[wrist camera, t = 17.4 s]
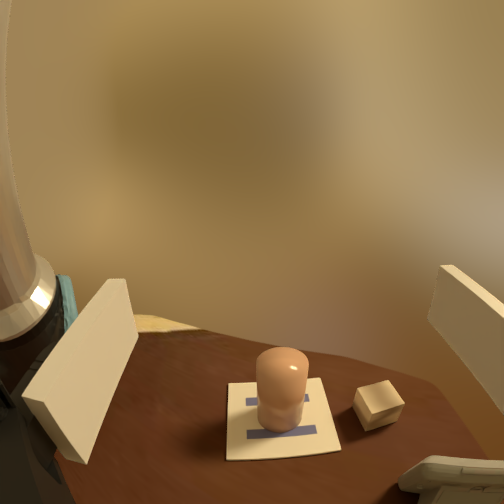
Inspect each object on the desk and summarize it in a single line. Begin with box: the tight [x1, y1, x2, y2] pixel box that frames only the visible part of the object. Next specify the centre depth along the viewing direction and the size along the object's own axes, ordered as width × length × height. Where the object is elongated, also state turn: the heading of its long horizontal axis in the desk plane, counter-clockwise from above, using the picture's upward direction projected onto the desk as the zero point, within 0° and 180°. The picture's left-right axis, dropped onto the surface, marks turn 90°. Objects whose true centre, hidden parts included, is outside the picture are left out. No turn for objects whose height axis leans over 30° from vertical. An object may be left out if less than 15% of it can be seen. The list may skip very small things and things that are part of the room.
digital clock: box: [398, 456, 504, 504], centre depth 17 cm, size 16×9×11 cm, turn 49°
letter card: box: [226, 378, 341, 460], centre depth 37 cm, size 14×14×1 cm
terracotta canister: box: [256, 347, 309, 433], centre depth 35 cm, size 6×6×10 cm
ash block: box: [352, 380, 405, 431], centre depth 35 cm, size 5×5×4 cm
